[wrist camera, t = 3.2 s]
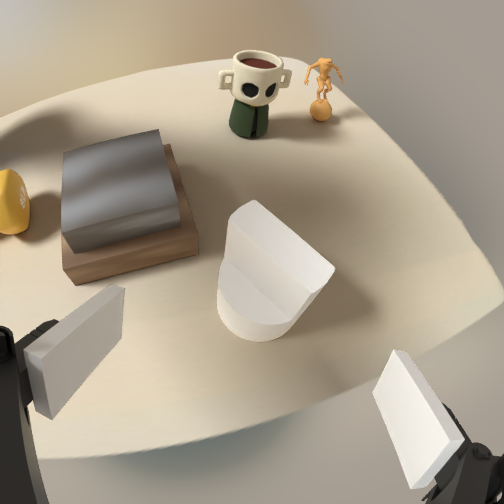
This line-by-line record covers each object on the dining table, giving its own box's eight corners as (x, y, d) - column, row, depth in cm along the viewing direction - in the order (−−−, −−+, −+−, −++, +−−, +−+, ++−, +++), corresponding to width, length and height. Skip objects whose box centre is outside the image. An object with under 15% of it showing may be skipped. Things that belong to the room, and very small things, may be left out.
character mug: (219, 145, 46) (225, 70, 35) (210, 118, 49) (215, 50, 38) (286, 139, 49) (304, 71, 38) (272, 114, 52) (286, 50, 41)
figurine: (305, 127, 51) (323, 69, 41) (288, 108, 54) (302, 52, 43) (341, 123, 54) (362, 70, 44) (323, 105, 56) (340, 54, 46)
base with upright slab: (314, 302, 35) (357, 247, 25) (259, 359, 31) (287, 324, 21) (256, 251, 37) (276, 180, 27) (199, 299, 33) (196, 238, 23)
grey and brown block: (71, 190, 38) (54, 148, 32) (171, 165, 43) (168, 120, 36) (75, 285, 32) (48, 249, 25) (198, 253, 36) (197, 211, 29)
